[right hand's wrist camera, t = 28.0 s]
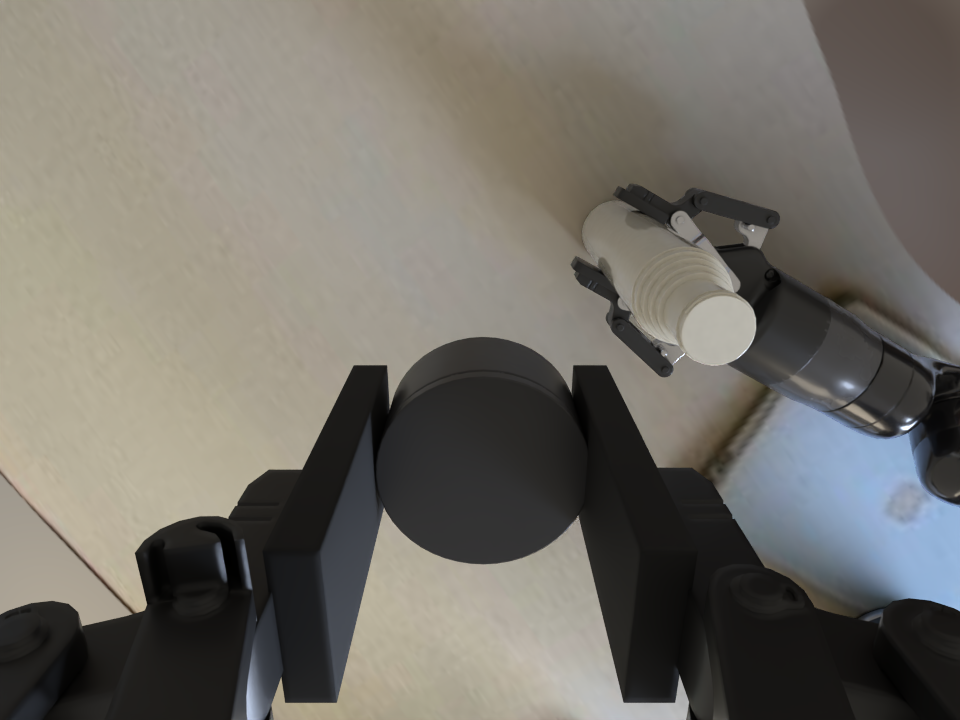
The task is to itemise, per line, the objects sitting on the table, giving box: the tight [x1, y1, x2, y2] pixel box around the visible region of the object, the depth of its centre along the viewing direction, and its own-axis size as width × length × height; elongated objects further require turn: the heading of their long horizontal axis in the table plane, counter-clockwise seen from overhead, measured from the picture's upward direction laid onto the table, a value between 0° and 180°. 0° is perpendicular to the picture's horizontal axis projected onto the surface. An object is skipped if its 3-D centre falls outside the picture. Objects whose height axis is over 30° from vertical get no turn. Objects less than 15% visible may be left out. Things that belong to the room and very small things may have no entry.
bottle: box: [582, 201, 756, 366], centre depth 38 cm, size 5×5×25 cm
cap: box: [375, 337, 588, 564], centre depth 14 cm, size 4×4×2 cm
